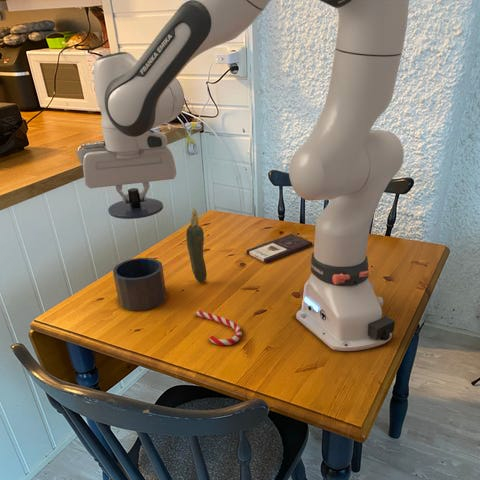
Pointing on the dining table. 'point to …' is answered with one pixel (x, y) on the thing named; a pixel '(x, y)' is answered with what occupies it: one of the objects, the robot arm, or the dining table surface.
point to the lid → (135, 207)
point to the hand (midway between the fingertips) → (135, 202)
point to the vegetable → (196, 248)
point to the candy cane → (226, 322)
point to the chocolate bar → (279, 248)
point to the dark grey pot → (140, 284)
